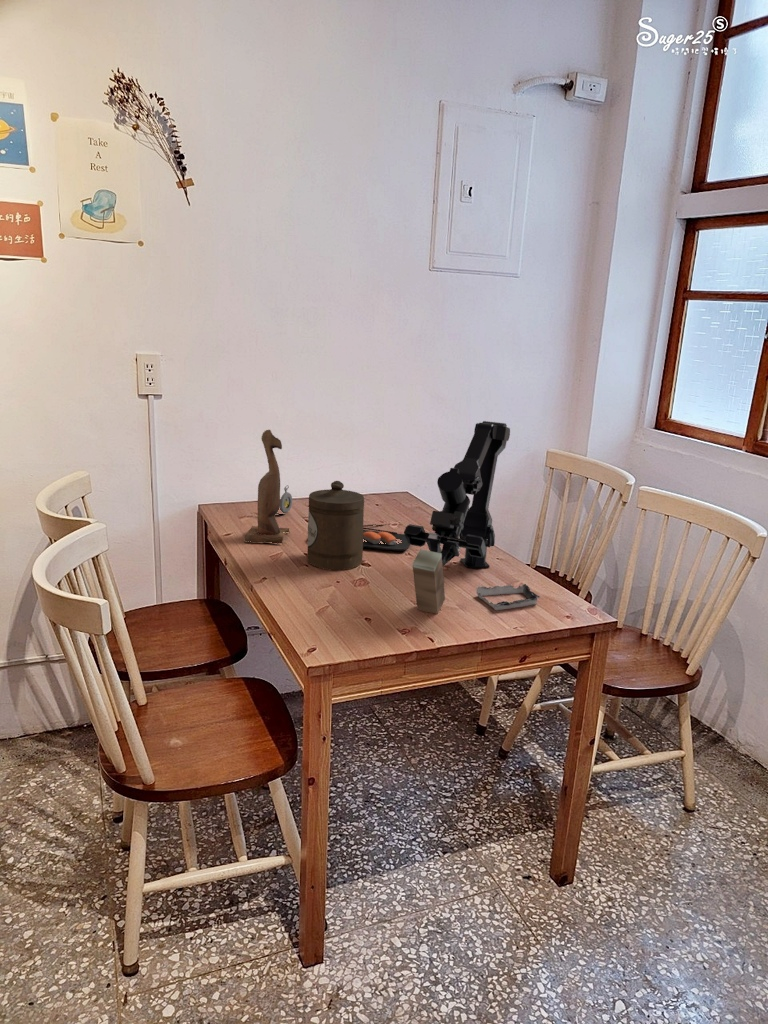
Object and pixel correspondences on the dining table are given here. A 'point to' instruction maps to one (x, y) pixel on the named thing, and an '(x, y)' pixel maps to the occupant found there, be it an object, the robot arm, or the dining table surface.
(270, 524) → the bird sculpture
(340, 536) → the wooden container
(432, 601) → the grey-green metal block
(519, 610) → the dining table surface
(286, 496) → the pocket watch
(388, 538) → the sushi plate
